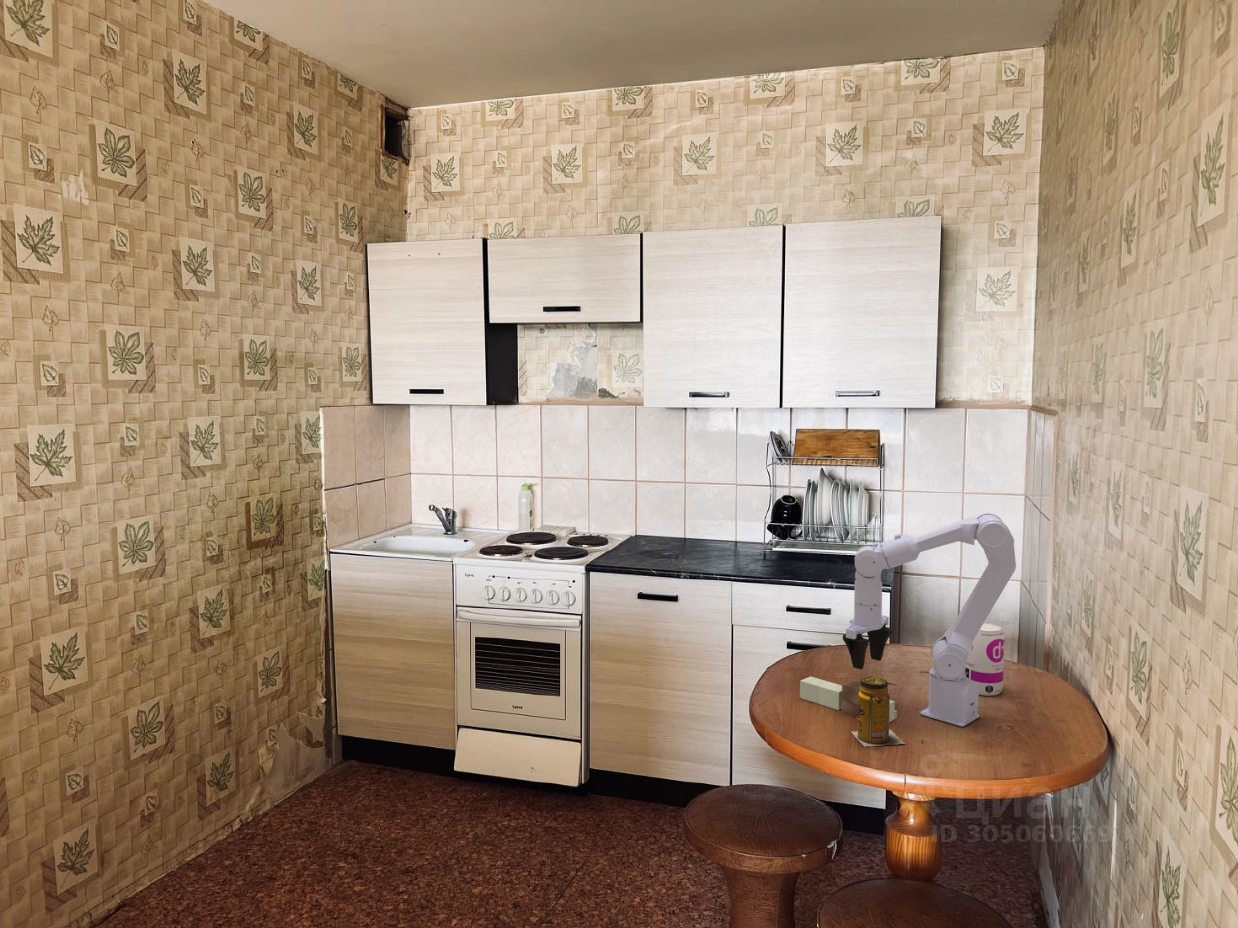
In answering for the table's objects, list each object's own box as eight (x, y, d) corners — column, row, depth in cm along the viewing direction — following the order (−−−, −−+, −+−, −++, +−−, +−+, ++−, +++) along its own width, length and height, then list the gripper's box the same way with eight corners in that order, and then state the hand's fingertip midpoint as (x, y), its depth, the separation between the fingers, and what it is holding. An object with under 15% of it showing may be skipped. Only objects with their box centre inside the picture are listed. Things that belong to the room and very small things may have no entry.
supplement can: (1010, 693, 195) (1013, 629, 194) (982, 698, 192) (984, 633, 191) (983, 681, 203) (985, 619, 201) (956, 686, 200) (958, 623, 198)
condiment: (850, 732, 175) (851, 675, 174) (890, 730, 176) (891, 673, 175) (863, 747, 168) (865, 687, 167) (905, 745, 169) (907, 686, 168)
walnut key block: (867, 711, 186) (868, 684, 185) (857, 716, 183) (858, 689, 182) (851, 706, 189) (852, 679, 188) (841, 711, 186) (841, 684, 185)
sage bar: (896, 718, 182) (897, 699, 182) (884, 724, 179) (884, 706, 178) (812, 692, 197) (813, 675, 197) (799, 697, 194) (800, 680, 193)
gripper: (868, 593, 194) (867, 651, 195) (833, 605, 184) (832, 667, 185) (897, 598, 188) (896, 658, 190) (863, 611, 178) (862, 675, 180)
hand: (867, 663), depth 187 cm, fingers open, 7 cm apart
